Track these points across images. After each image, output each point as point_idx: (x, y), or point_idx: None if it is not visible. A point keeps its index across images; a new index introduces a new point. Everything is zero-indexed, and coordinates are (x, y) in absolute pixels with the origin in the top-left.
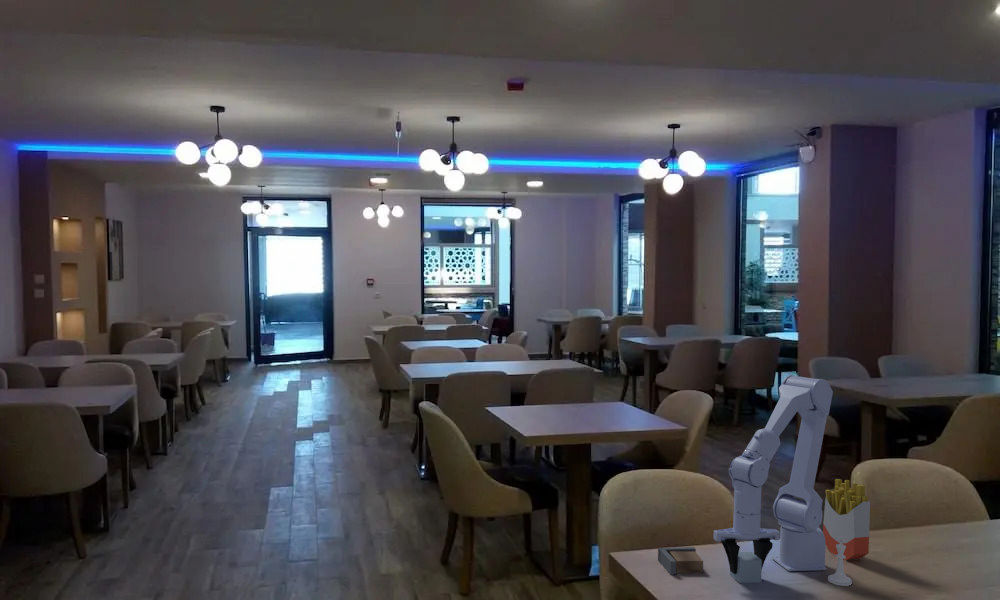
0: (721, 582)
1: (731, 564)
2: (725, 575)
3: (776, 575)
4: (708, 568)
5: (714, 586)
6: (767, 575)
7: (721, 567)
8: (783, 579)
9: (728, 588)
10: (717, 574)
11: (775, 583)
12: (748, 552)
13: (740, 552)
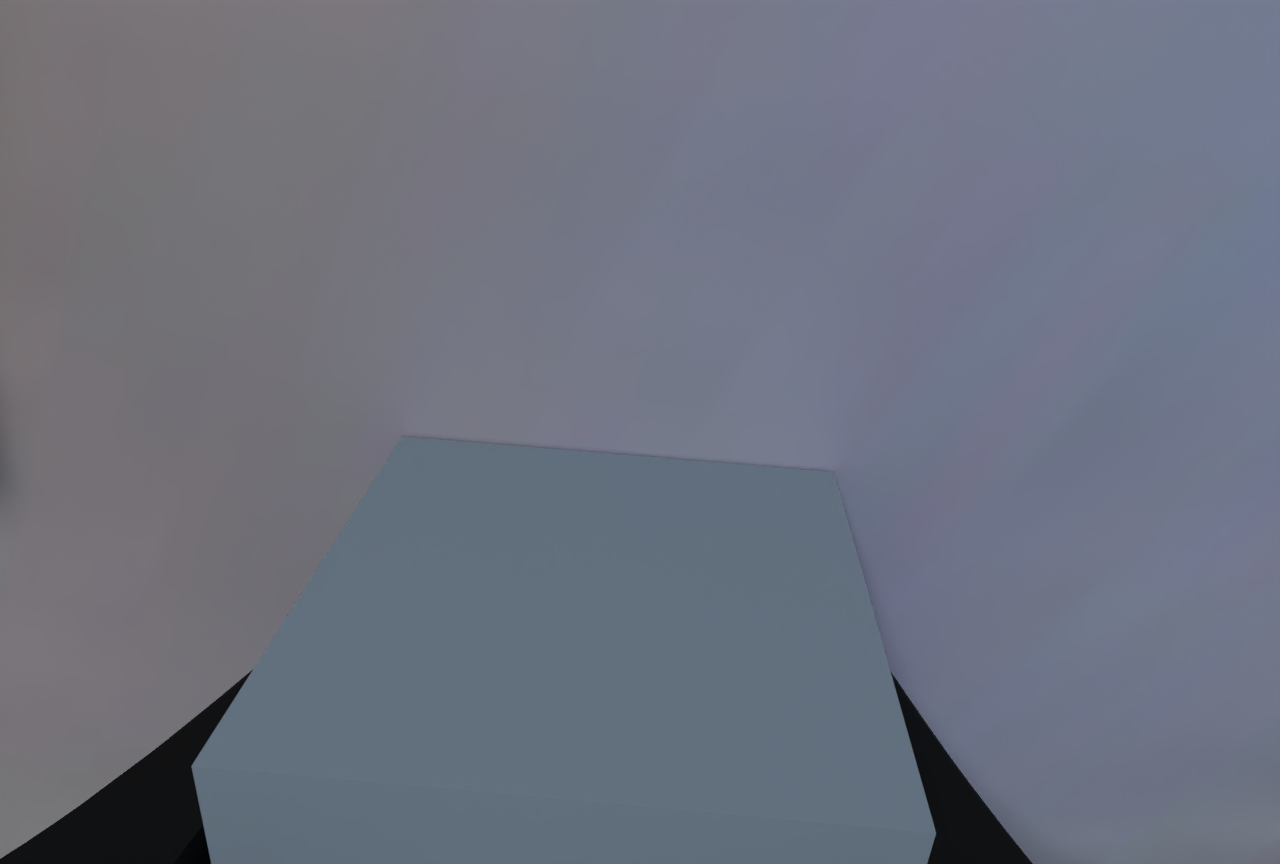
0: (145, 694)
1: None
2: (299, 466)
3: (1269, 597)
4: (30, 66)
5: (7, 785)
6: (1098, 574)
7: (357, 45)
8: (1241, 745)
9: None
10: (157, 403)
11: None
12: (789, 857)
13: (521, 822)
